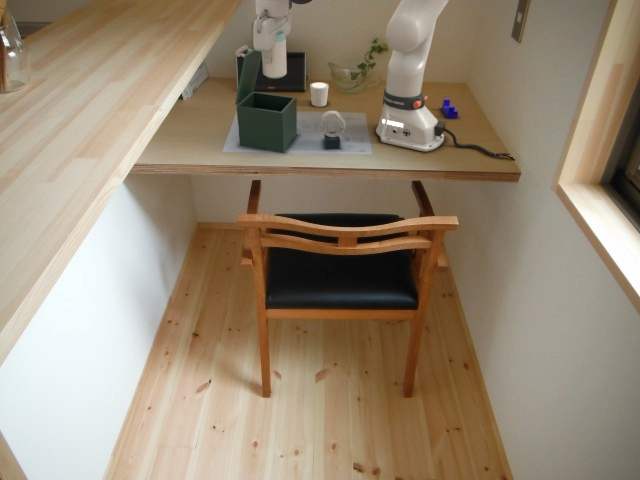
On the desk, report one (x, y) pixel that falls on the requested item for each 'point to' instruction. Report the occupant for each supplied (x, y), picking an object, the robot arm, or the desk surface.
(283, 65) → the can
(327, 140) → the watch
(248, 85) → the lid
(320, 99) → the white cup
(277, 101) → the trash can
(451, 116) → the cable holder
